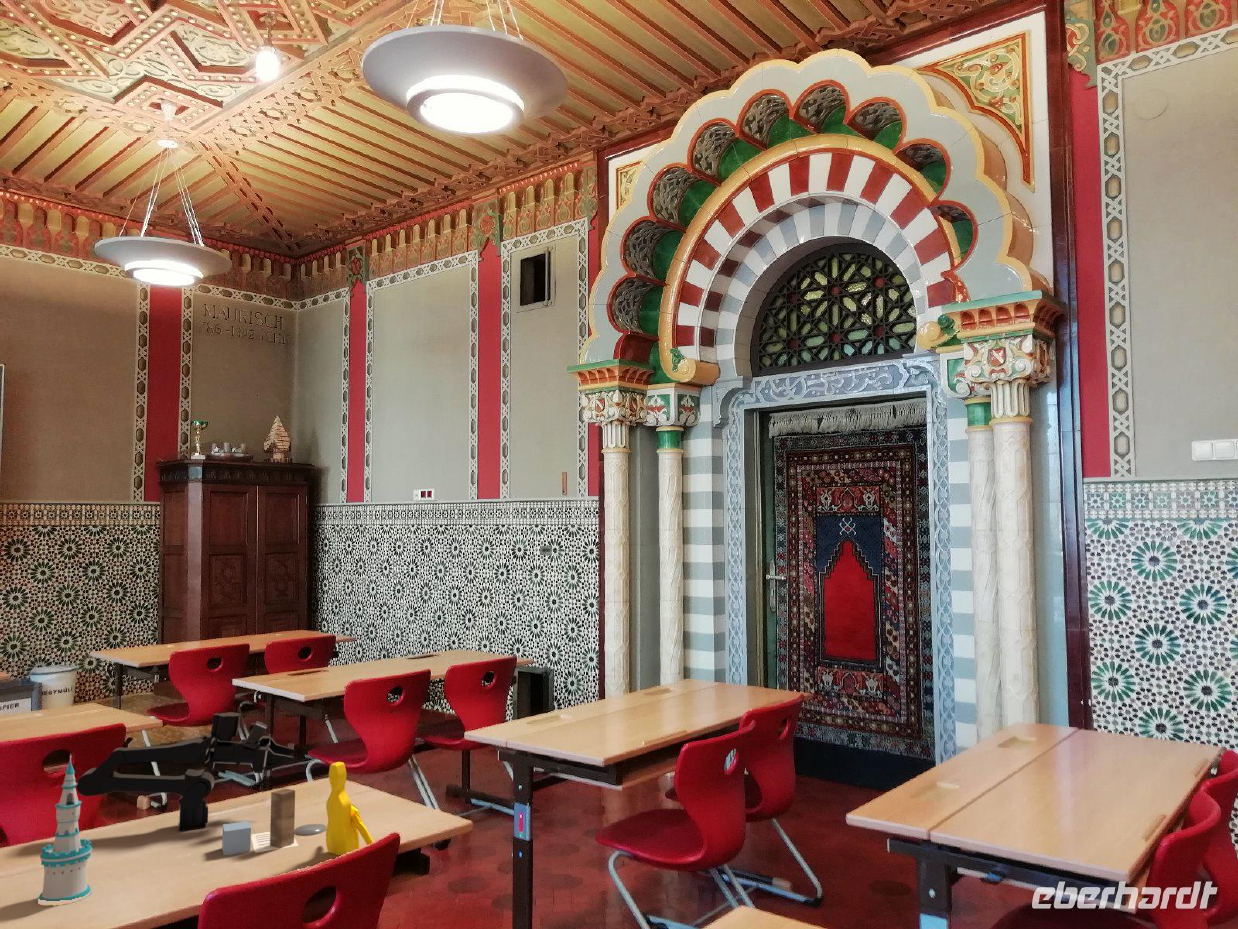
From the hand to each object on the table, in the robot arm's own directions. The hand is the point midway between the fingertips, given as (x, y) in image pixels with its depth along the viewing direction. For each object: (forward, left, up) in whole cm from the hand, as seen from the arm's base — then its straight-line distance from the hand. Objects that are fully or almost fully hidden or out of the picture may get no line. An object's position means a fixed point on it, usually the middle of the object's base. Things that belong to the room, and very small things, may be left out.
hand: (294, 755), depth 246 cm
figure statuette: (+7, -37, -17) cm, 41 cm away
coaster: (+2, -15, -17) cm, 23 cm away
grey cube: (-16, -22, -17) cm, 32 cm away
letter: (-7, -19, -17) cm, 26 cm away
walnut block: (-6, -23, -16) cm, 29 cm away
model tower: (-51, -35, -17) cm, 64 cm away
